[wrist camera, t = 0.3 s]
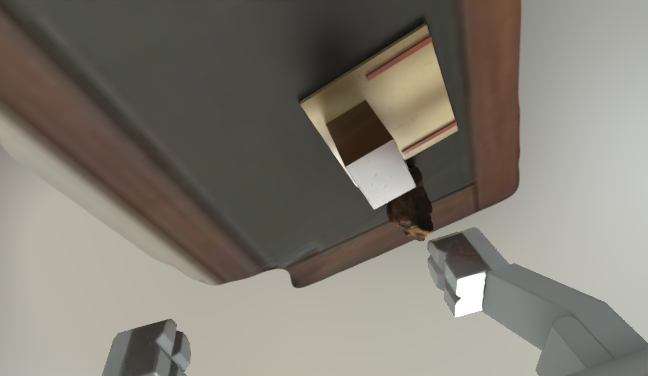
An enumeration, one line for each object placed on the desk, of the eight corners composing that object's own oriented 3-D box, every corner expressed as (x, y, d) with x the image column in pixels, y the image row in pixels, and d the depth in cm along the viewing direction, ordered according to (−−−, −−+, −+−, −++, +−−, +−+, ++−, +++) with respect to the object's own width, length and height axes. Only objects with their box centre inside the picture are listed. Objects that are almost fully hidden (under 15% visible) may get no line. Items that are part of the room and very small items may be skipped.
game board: (299, 102, 49) (300, 105, 48) (424, 22, 46) (428, 25, 45) (355, 184, 62) (357, 189, 62) (455, 128, 59) (459, 131, 58)
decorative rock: (406, 210, 70) (430, 250, 62) (379, 213, 69) (399, 255, 61) (421, 162, 63) (450, 202, 55) (390, 165, 61) (416, 205, 53)
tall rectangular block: (325, 124, 52) (344, 167, 44) (367, 98, 51) (395, 137, 43) (352, 166, 58) (374, 210, 50) (390, 144, 57) (418, 185, 49)
